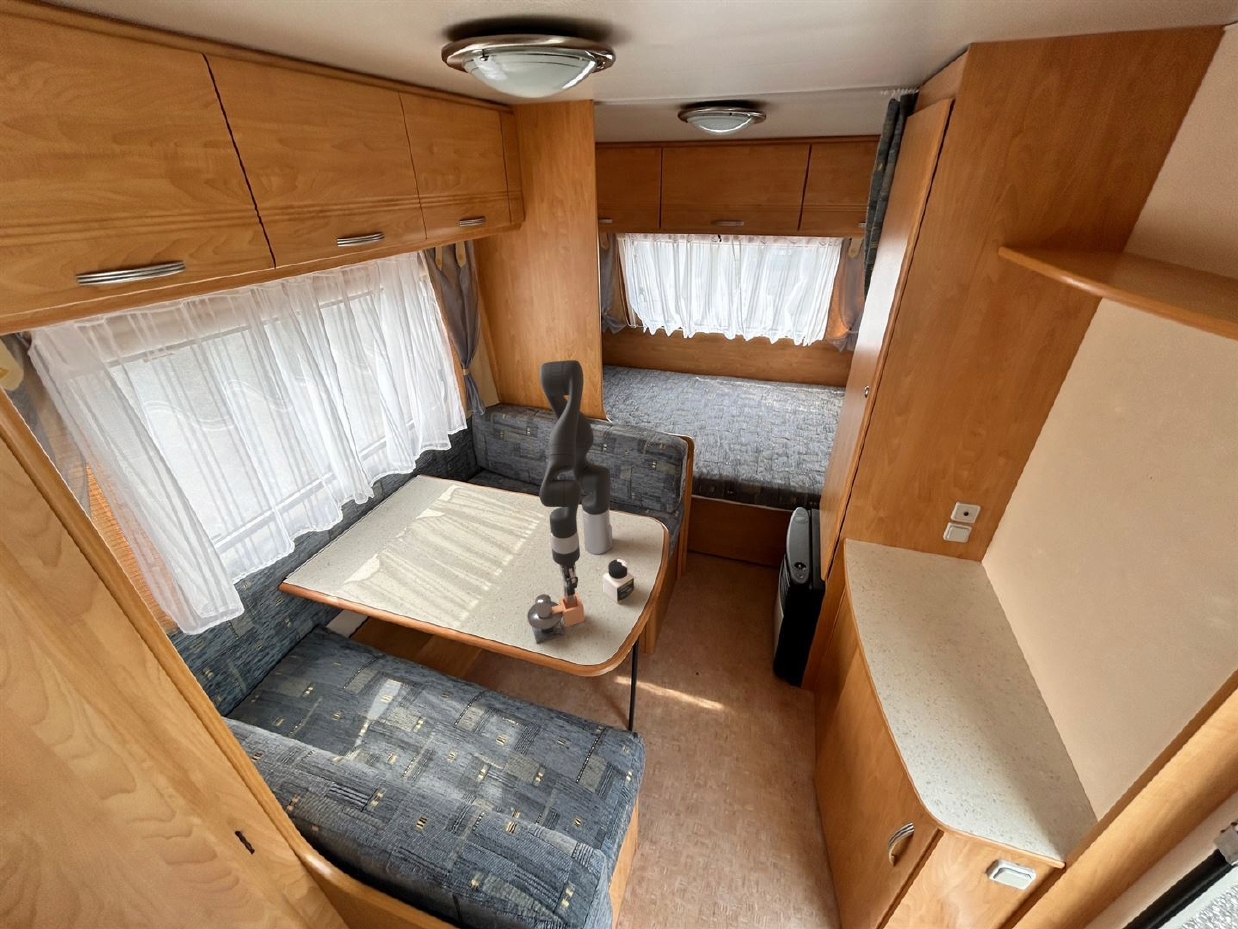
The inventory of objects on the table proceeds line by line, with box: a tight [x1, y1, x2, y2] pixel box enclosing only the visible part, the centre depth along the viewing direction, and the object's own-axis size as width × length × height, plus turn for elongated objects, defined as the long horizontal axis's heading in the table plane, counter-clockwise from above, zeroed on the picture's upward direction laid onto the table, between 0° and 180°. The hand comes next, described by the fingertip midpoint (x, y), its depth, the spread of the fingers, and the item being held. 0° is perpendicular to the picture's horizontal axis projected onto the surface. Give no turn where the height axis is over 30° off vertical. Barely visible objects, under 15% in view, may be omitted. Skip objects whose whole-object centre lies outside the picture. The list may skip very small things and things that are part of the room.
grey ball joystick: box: [527, 594, 564, 644], centre depth 149 cm, size 10×10×12 cm
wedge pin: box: [561, 572, 576, 603], centre depth 147 cm, size 3×3×11 cm
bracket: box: [552, 592, 585, 627], centre depth 151 cm, size 9×6×6 cm, turn 111°
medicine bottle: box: [602, 558, 635, 604], centre depth 161 cm, size 7×7×12 cm
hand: (569, 590), depth 148 cm, fingers closed on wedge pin, 3 cm apart
